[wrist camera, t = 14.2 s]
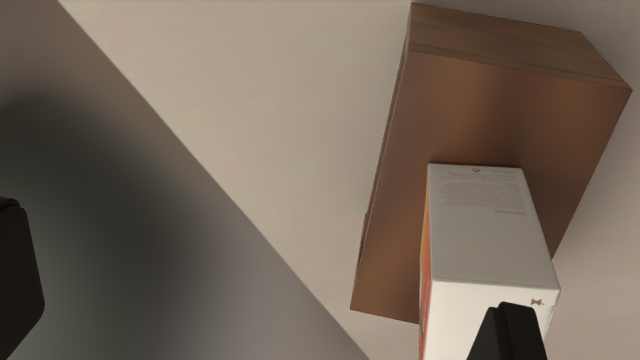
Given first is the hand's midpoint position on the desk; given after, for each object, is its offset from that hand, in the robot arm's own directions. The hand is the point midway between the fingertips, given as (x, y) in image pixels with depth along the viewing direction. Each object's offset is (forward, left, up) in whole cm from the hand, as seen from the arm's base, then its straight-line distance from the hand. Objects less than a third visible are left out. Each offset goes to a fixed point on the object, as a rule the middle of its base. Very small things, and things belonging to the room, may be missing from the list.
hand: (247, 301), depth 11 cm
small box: (+9, -11, -22) cm, 26 cm away
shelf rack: (+9, -11, -32) cm, 35 cm away
